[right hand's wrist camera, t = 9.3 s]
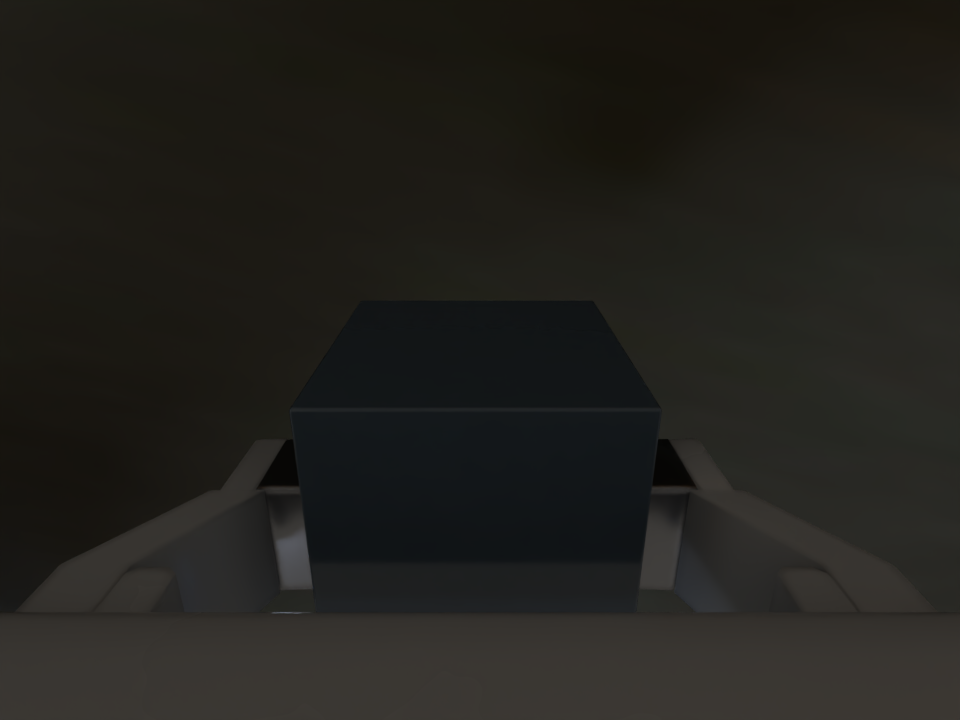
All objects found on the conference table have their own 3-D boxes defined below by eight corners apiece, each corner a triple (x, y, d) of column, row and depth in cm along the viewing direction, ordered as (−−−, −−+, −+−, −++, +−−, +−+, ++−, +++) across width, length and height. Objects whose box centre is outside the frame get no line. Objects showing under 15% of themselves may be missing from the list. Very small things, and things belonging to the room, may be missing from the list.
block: (359, 299, 11) (287, 408, 7) (593, 299, 11) (663, 408, 7) (376, 512, 13) (326, 702, 9) (578, 512, 13) (626, 701, 9)
